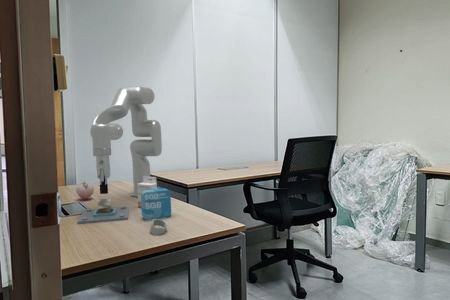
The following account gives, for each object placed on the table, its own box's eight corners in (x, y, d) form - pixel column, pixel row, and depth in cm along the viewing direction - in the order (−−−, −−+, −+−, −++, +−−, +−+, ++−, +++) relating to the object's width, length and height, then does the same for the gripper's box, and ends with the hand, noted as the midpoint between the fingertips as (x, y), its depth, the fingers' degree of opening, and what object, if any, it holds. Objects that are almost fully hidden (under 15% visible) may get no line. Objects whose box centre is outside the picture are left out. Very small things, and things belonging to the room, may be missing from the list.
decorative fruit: (97, 199, 187) (96, 181, 187) (82, 202, 181) (81, 183, 180) (89, 197, 194) (88, 179, 193) (74, 199, 188) (73, 181, 187)
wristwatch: (151, 228, 134) (150, 216, 134) (167, 227, 135) (167, 215, 135) (148, 236, 125) (148, 223, 125) (166, 235, 126) (166, 222, 126)
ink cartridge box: (137, 207, 168) (136, 177, 167) (144, 205, 172) (142, 176, 171) (151, 209, 164) (150, 178, 163) (158, 206, 169) (157, 176, 168)
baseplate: (128, 208, 166) (128, 204, 166) (127, 219, 147) (127, 215, 147) (84, 211, 161) (84, 207, 161) (77, 224, 142) (77, 219, 142)
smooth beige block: (111, 211, 157) (110, 198, 157) (110, 214, 152) (109, 201, 152) (99, 212, 156) (99, 199, 155) (98, 215, 151) (97, 201, 150)
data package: (143, 220, 145) (142, 192, 144) (141, 217, 150) (140, 190, 149) (171, 216, 150) (170, 189, 149) (168, 214, 154) (167, 187, 153)
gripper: (109, 153, 145) (111, 196, 147) (112, 150, 160) (113, 189, 161) (90, 154, 144) (93, 197, 145) (95, 151, 158) (96, 190, 160)
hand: (104, 193), depth 153 cm, fingers closed
